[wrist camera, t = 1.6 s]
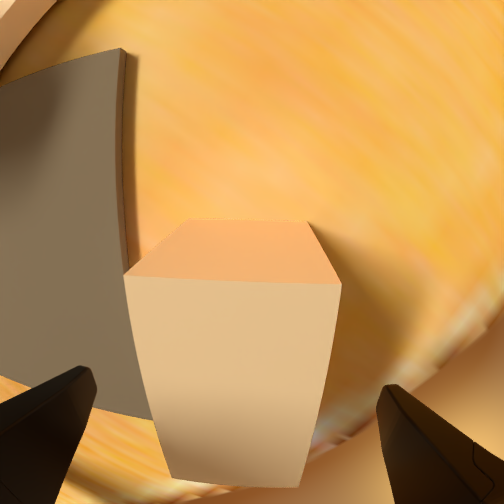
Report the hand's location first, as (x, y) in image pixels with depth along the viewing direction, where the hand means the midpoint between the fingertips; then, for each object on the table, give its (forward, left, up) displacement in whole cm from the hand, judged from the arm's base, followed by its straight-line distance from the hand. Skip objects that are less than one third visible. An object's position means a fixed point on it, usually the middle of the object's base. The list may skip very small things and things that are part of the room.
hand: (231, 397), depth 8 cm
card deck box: (0, 0, -5) cm, 5 cm away
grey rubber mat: (+2, +13, -5) cm, 14 cm away
